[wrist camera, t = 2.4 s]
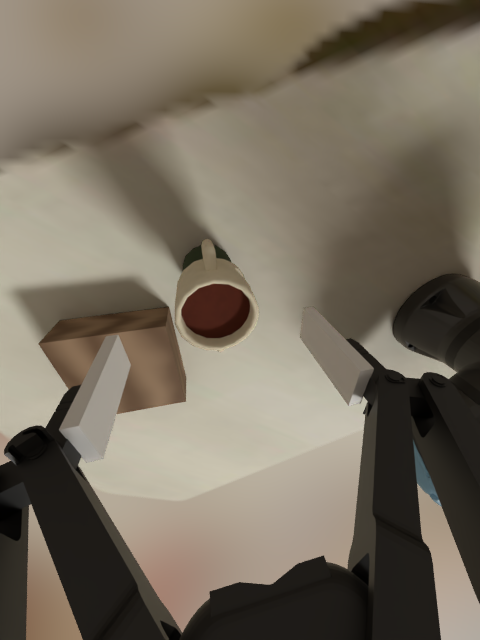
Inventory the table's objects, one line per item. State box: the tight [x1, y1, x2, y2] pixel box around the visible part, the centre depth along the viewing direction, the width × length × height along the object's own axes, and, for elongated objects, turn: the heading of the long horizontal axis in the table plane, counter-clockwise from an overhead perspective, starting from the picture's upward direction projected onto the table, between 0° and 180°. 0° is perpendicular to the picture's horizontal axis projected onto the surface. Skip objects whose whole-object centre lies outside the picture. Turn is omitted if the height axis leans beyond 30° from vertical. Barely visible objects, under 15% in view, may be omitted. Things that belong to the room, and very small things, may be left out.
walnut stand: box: [39, 307, 186, 414], centre depth 32 cm, size 14×14×5 cm
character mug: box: [175, 239, 259, 352], centre depth 24 cm, size 11×7×13 cm, turn 3°
